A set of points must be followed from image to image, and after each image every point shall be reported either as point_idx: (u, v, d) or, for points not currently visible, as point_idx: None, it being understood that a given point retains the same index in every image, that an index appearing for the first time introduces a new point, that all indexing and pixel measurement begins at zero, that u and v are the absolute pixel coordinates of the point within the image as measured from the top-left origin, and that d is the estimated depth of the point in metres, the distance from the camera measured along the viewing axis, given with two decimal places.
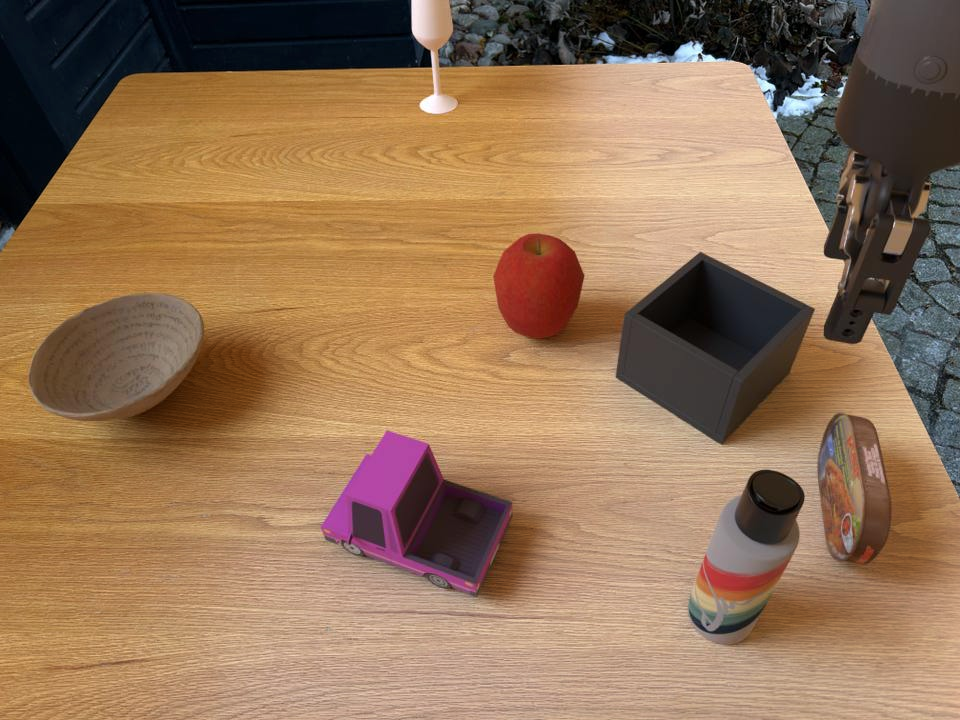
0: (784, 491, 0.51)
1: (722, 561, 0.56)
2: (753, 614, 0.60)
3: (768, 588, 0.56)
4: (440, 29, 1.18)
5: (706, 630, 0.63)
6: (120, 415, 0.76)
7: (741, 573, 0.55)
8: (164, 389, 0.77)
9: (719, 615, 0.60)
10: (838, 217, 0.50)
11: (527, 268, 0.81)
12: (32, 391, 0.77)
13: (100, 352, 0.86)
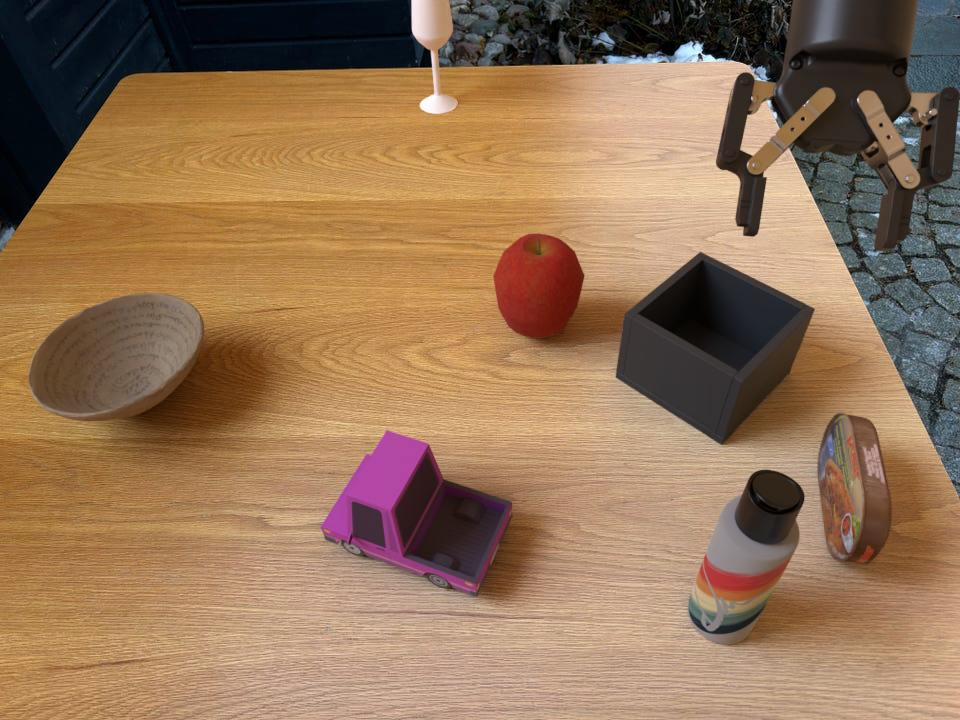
0: (784, 491, 0.51)
1: (722, 561, 0.56)
2: (753, 614, 0.60)
3: (768, 588, 0.56)
4: (440, 29, 1.18)
5: (706, 630, 0.63)
6: (120, 415, 0.76)
7: (741, 573, 0.55)
8: (164, 389, 0.77)
9: (719, 615, 0.60)
10: (881, 201, 0.50)
11: (527, 268, 0.81)
12: (32, 391, 0.77)
13: (100, 352, 0.86)
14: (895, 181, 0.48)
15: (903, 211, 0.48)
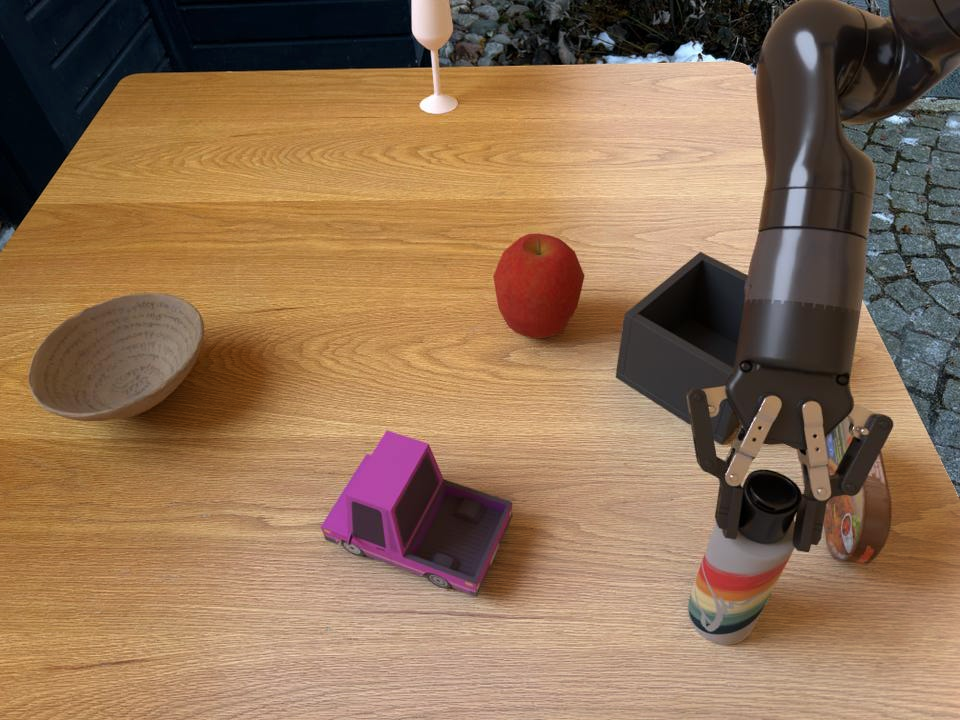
0: (781, 491, 0.51)
1: (720, 561, 0.56)
2: (752, 614, 0.60)
3: (767, 588, 0.56)
4: (440, 29, 1.18)
5: (706, 630, 0.63)
6: (120, 415, 0.76)
7: (739, 573, 0.55)
8: (164, 389, 0.77)
9: (718, 615, 0.60)
10: None
11: (527, 268, 0.81)
12: (32, 391, 0.77)
13: (100, 352, 0.86)
14: (809, 489, 0.52)
15: (816, 518, 0.51)
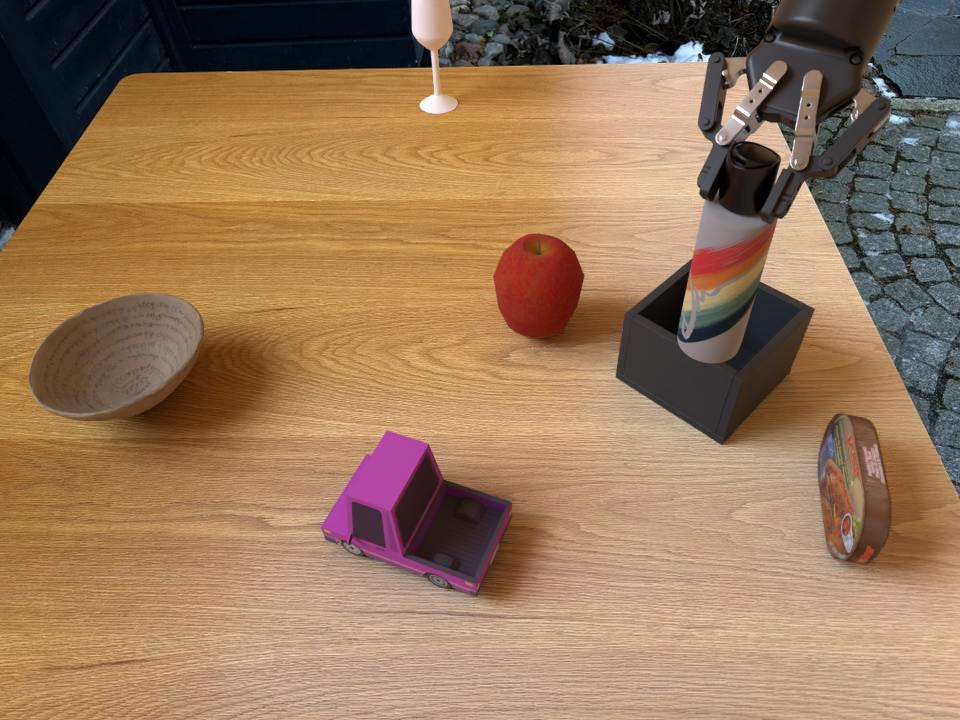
0: (761, 155, 0.54)
1: (699, 238, 0.60)
2: (723, 317, 0.63)
3: (735, 277, 0.59)
4: (440, 29, 1.18)
5: (684, 339, 0.67)
6: (120, 415, 0.76)
7: (709, 247, 0.59)
8: (164, 389, 0.77)
9: (693, 313, 0.64)
10: None
11: (527, 268, 0.81)
12: (32, 391, 0.77)
13: (100, 352, 0.86)
14: None
15: (787, 189, 0.54)
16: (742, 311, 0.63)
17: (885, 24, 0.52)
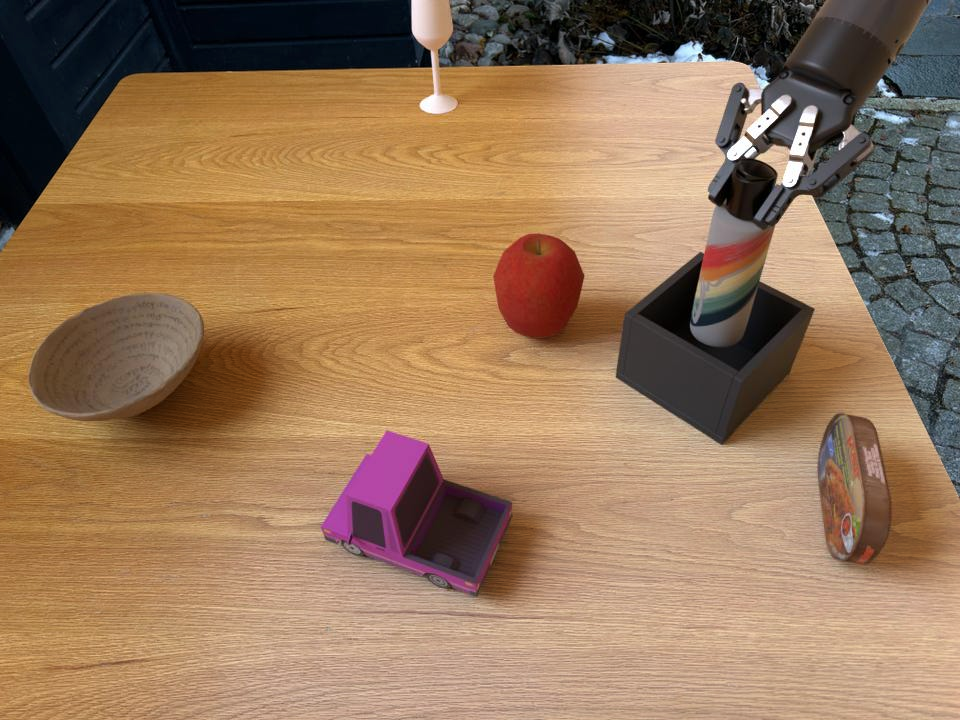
0: (761, 172, 0.65)
1: (708, 236, 0.71)
2: (723, 306, 0.74)
3: (734, 272, 0.71)
4: (440, 29, 1.18)
5: (693, 323, 0.78)
6: (120, 415, 0.76)
7: (714, 244, 0.70)
8: (164, 389, 0.77)
9: (700, 301, 0.76)
10: None
11: (527, 268, 0.81)
12: (32, 391, 0.77)
13: (100, 352, 0.86)
14: None
15: (778, 202, 0.65)
16: (741, 303, 0.73)
17: (878, 72, 0.62)
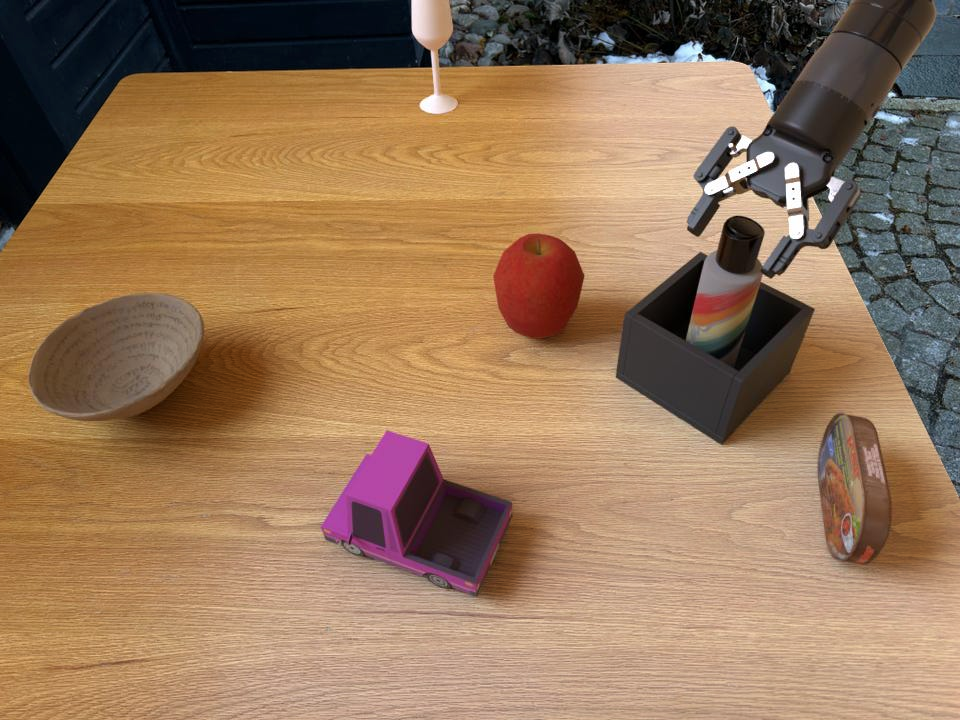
0: (749, 229, 0.70)
1: (699, 284, 0.76)
2: (712, 350, 0.78)
3: (722, 319, 0.75)
4: (440, 29, 1.18)
5: None
6: (120, 415, 0.76)
7: (704, 293, 0.75)
8: (164, 389, 0.77)
9: (691, 343, 0.80)
10: None
11: (527, 268, 0.81)
12: (32, 391, 0.77)
13: (100, 352, 0.86)
14: None
15: (785, 253, 0.67)
16: (729, 347, 0.78)
17: (855, 133, 0.66)
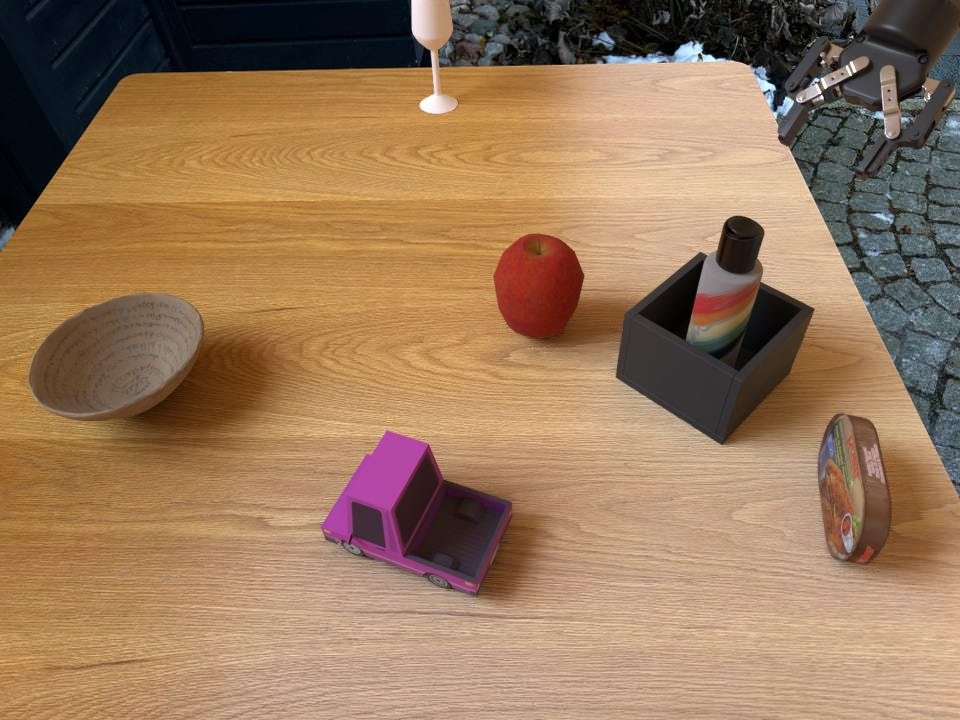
0: (749, 229, 0.70)
1: (699, 284, 0.76)
2: (712, 350, 0.78)
3: (722, 319, 0.75)
4: (440, 29, 1.18)
5: None
6: (120, 415, 0.76)
7: (704, 293, 0.75)
8: (164, 389, 0.77)
9: (691, 343, 0.80)
10: None
11: (527, 268, 0.81)
12: (32, 391, 0.77)
13: (100, 352, 0.86)
14: None
15: (880, 153, 0.70)
16: (729, 347, 0.78)
17: (951, 35, 0.68)
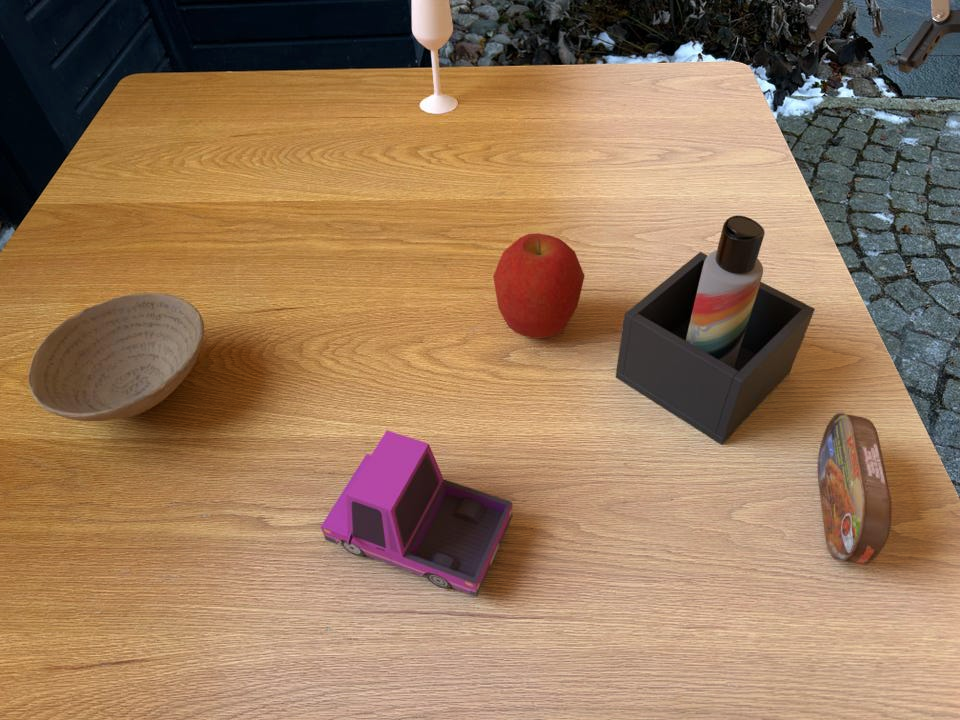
0: (749, 229, 0.70)
1: (699, 284, 0.76)
2: (712, 350, 0.78)
3: (722, 319, 0.75)
4: (440, 29, 1.18)
5: None
6: (120, 415, 0.76)
7: (704, 293, 0.75)
8: (164, 389, 0.77)
9: (691, 343, 0.80)
10: None
11: (527, 268, 0.81)
12: (32, 391, 0.77)
13: (100, 352, 0.86)
14: None
15: (926, 39, 0.62)
16: (729, 347, 0.78)
17: None
